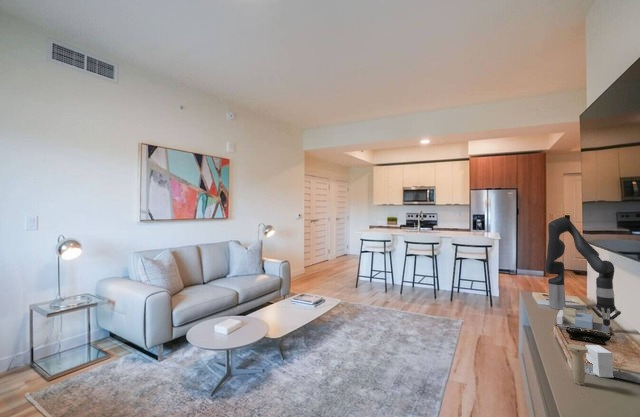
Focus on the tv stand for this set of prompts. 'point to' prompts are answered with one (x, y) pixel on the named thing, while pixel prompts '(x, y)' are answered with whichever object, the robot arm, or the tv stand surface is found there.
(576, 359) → the handle
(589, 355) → the small box
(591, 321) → the vise jaw
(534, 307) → the tv stand surface
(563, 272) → the robot arm
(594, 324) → the panel
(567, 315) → the birch block
